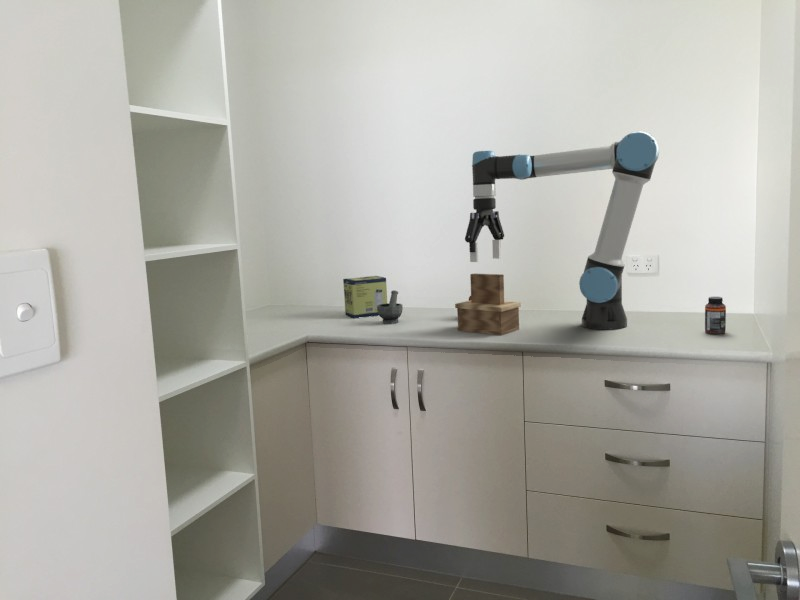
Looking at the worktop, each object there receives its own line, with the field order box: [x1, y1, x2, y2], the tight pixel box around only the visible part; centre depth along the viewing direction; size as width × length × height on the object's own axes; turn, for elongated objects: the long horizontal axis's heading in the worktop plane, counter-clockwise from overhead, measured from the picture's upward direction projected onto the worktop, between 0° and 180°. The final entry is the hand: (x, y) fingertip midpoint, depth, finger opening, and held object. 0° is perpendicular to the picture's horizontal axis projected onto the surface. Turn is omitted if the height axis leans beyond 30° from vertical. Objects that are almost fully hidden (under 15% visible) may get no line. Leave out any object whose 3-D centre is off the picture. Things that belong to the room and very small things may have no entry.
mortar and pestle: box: [377, 290, 404, 325], centre depth 259 cm, size 11×9×12 cm
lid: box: [454, 273, 521, 312], centre depth 233 cm, size 19×12×12 cm, turn 49°
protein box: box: [342, 275, 388, 319], centre depth 280 cm, size 10×16×16 cm
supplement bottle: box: [704, 296, 727, 335], centre depth 212 cm, size 6×6×11 cm
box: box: [456, 307, 520, 336], centre depth 234 cm, size 18×11×8 cm, turn 49°
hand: (485, 260), depth 232 cm, fingers open, 13 cm apart
